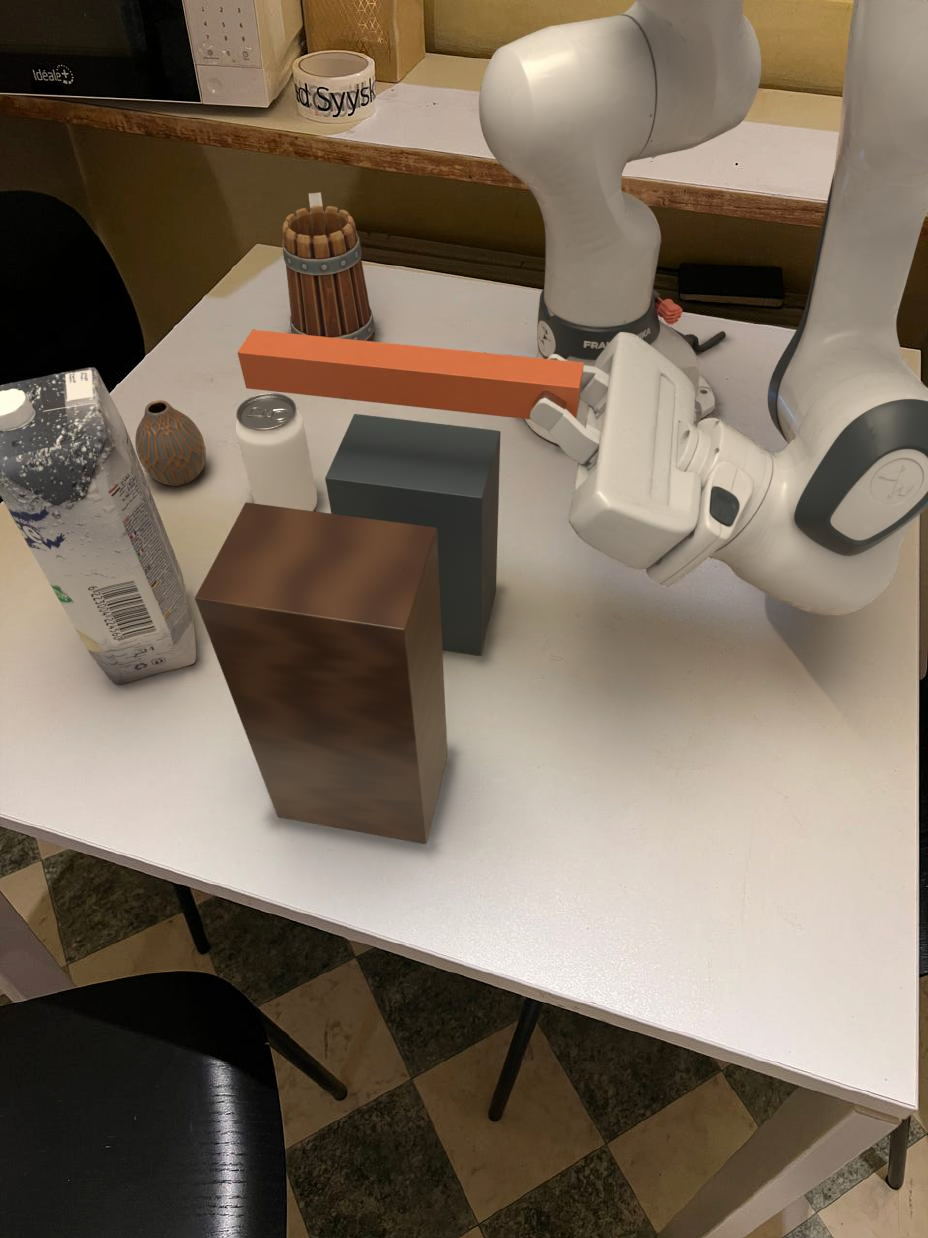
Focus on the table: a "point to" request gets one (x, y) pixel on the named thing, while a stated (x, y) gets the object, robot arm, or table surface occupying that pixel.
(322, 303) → the mug
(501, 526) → the table surface
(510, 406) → the rod
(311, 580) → the tall stand
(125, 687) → the table surface
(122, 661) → the juice carton
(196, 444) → the vase
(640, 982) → the table surface
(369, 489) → the lower stand
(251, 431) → the can
